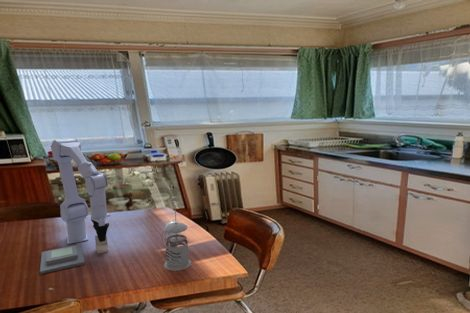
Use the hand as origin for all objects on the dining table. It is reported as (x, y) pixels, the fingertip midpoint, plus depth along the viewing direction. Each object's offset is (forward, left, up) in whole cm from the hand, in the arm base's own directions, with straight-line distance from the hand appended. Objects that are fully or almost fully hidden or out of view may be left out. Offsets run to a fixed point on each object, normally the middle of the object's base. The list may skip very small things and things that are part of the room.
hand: (101, 237), depth 126 cm
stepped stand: (0, -14, -5) cm, 15 cm away
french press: (+26, +22, -6) cm, 34 cm away
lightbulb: (+12, +26, -6) cm, 29 cm away
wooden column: (0, 0, -5) cm, 5 cm away
